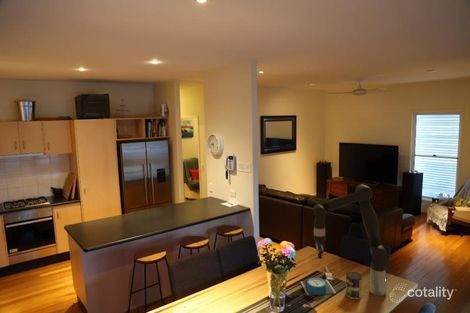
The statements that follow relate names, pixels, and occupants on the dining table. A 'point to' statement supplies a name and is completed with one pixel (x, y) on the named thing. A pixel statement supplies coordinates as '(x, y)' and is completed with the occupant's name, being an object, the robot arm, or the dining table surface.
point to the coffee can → (354, 285)
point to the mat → (328, 291)
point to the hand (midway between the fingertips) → (319, 258)
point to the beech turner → (328, 274)
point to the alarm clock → (316, 286)
